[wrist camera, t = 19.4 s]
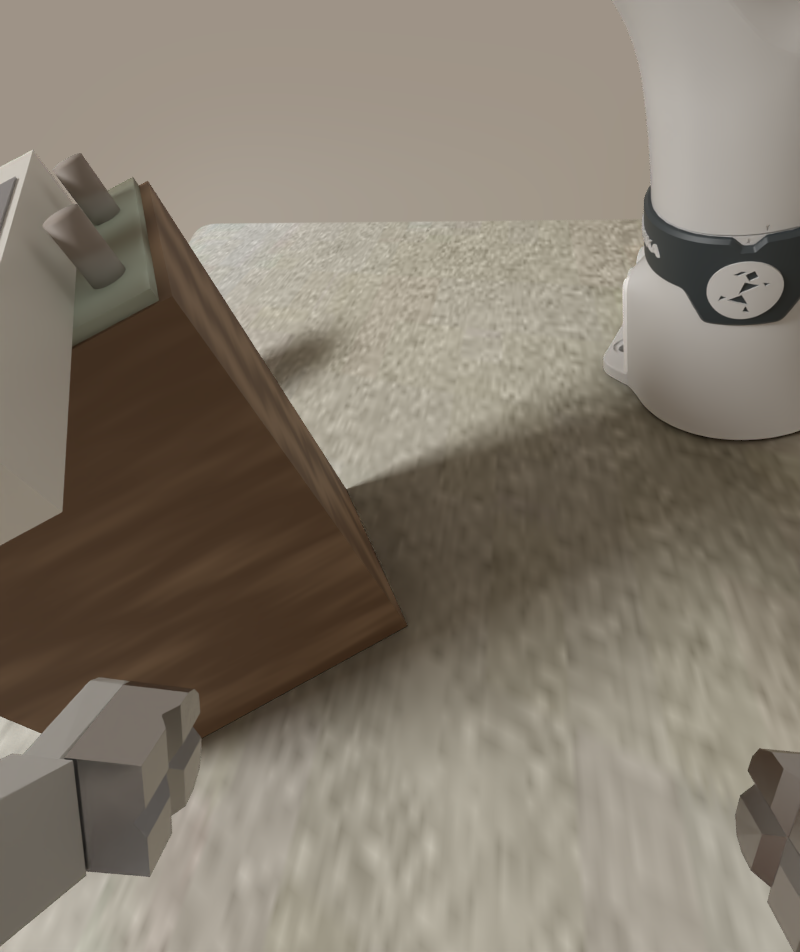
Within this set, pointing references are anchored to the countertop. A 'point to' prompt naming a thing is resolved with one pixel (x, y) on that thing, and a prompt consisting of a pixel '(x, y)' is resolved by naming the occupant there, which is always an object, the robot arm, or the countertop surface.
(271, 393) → the wooden peg block
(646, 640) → the countertop surface
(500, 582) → the countertop surface
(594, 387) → the countertop surface
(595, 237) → the countertop surface
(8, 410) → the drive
